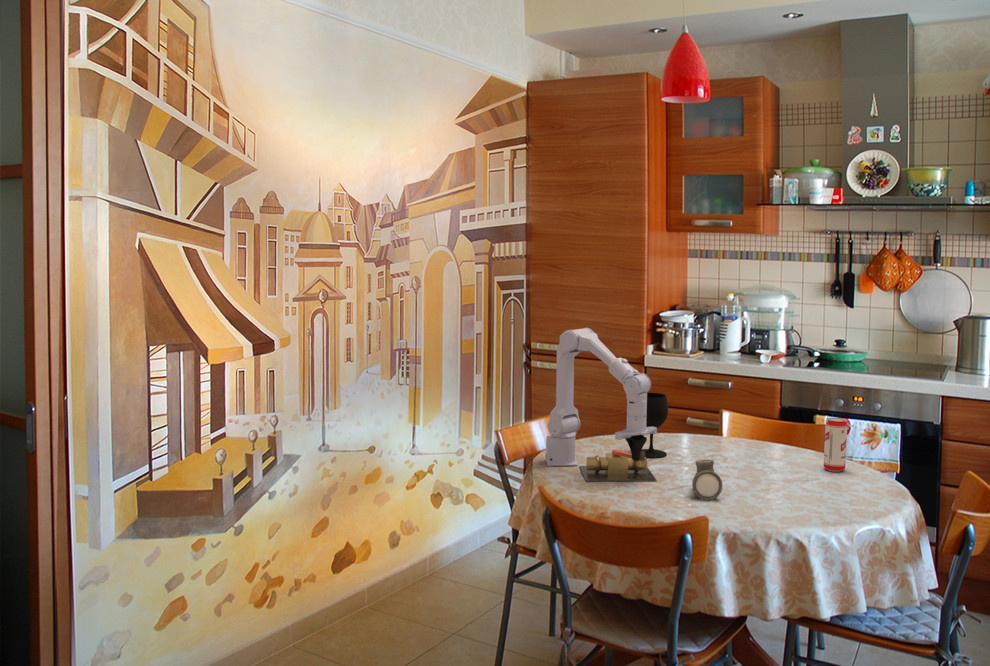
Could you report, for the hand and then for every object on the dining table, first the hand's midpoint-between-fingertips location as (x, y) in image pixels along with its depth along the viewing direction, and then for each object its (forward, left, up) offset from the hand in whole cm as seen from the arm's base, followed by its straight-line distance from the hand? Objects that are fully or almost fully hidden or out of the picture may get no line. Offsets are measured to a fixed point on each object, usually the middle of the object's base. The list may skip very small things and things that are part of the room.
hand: (635, 460), depth 253 cm
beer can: (+64, +10, -6) cm, 65 cm away
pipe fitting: (+18, -13, -6) cm, 23 cm away
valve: (-4, +8, -6) cm, 11 cm away
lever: (-1, +4, 0) cm, 5 cm away
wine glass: (+11, +30, -6) cm, 32 cm away
